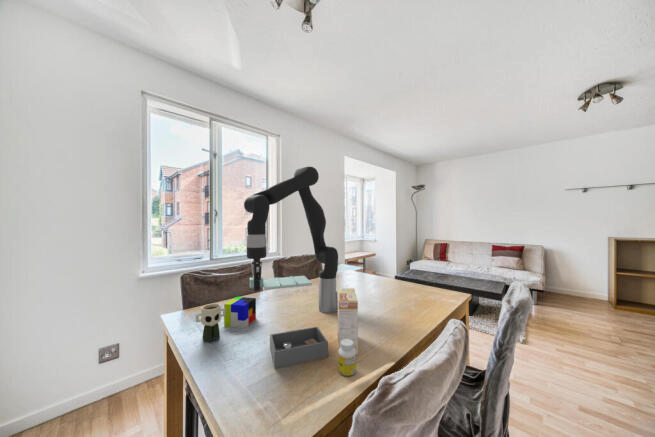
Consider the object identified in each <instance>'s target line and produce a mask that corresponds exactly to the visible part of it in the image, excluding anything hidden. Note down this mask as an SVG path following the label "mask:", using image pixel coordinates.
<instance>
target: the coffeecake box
mask: <svg viewBox="0 0 655 437" xmlns="http://www.w3.org/2000/svg"><path fill="white" fill-rule="evenodd" d="M337 292H338V310H337V346H338V348H337V349H338V351H339V349H340V347H341V341H342V340H343V339H350V340H352V341H353V348H354V349H355V351H356V355H358V354H359V329H358V328H359V319H358V318H359V314H358V313H359V310H358V308H359V306H358V305H359V301H358V297H357V293H356V290H355V288H353V287H352V288H350V287H349V288H347V287H346V288H345V287H339V288H337Z"/></svg>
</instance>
